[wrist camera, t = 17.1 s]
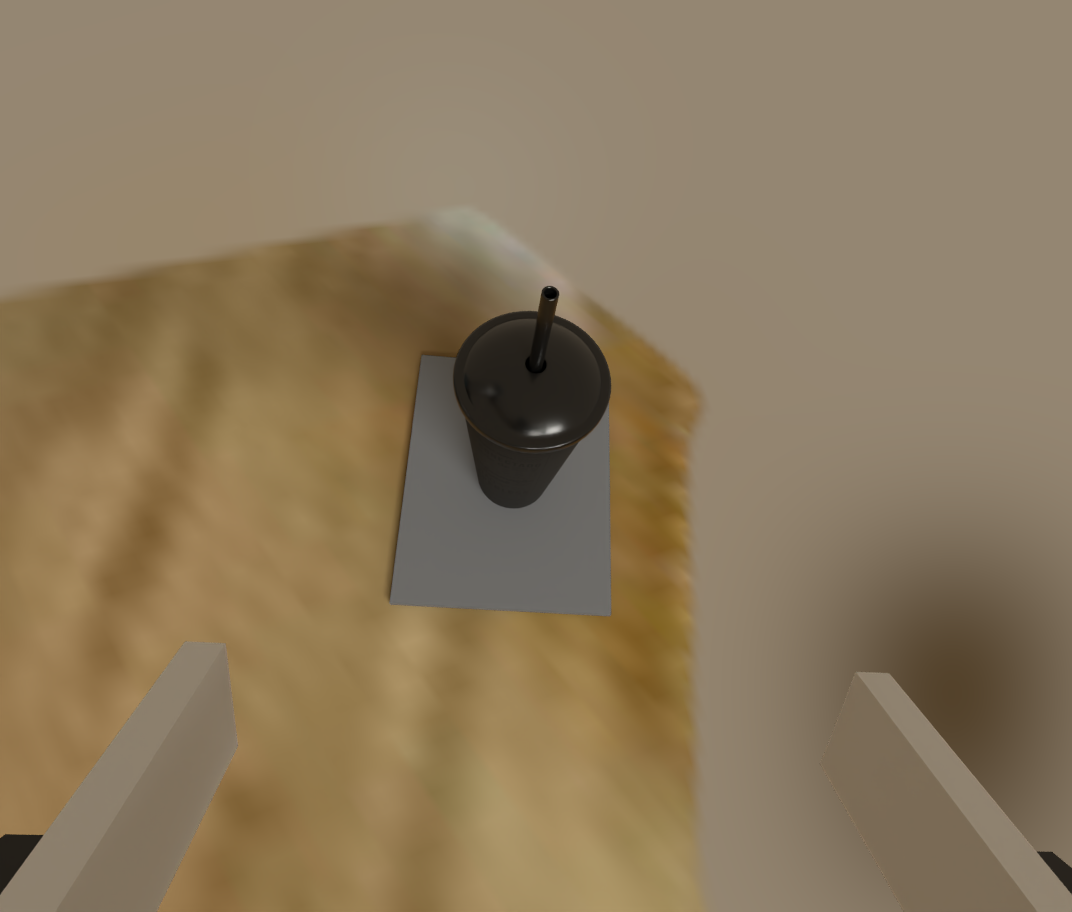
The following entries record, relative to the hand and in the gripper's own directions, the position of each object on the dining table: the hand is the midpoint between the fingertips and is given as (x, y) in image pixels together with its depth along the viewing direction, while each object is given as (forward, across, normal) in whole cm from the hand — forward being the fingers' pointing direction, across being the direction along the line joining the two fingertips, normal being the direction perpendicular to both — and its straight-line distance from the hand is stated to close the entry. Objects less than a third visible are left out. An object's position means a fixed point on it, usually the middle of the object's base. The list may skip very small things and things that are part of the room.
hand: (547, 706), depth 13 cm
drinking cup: (+28, 0, -8) cm, 29 cm away
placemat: (+28, 0, -8) cm, 29 cm away
